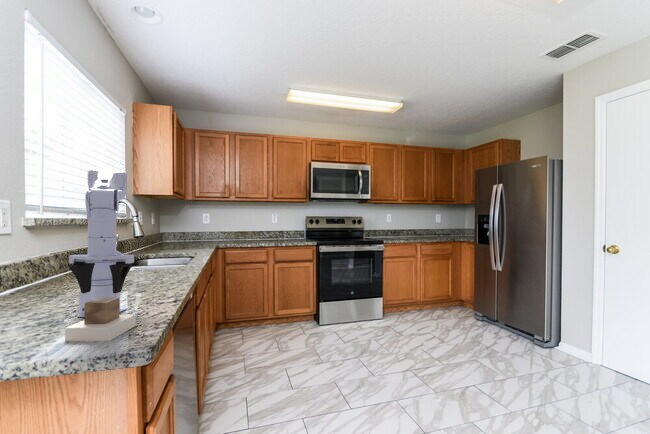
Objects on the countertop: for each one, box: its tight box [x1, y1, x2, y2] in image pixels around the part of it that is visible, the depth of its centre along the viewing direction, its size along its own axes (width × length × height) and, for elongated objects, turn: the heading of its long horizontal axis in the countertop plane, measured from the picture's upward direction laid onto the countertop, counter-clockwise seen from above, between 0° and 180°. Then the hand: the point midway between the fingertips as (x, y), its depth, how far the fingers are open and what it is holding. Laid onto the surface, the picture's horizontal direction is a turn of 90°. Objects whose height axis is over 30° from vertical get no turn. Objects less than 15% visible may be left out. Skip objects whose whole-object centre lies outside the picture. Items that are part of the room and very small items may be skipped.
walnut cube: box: [83, 297, 121, 324], centre depth 74 cm, size 5×5×5 cm
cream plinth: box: [64, 313, 137, 342], centre depth 74 cm, size 10×10×4 cm
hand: (101, 292), depth 74 cm, fingers open, 7 cm apart
